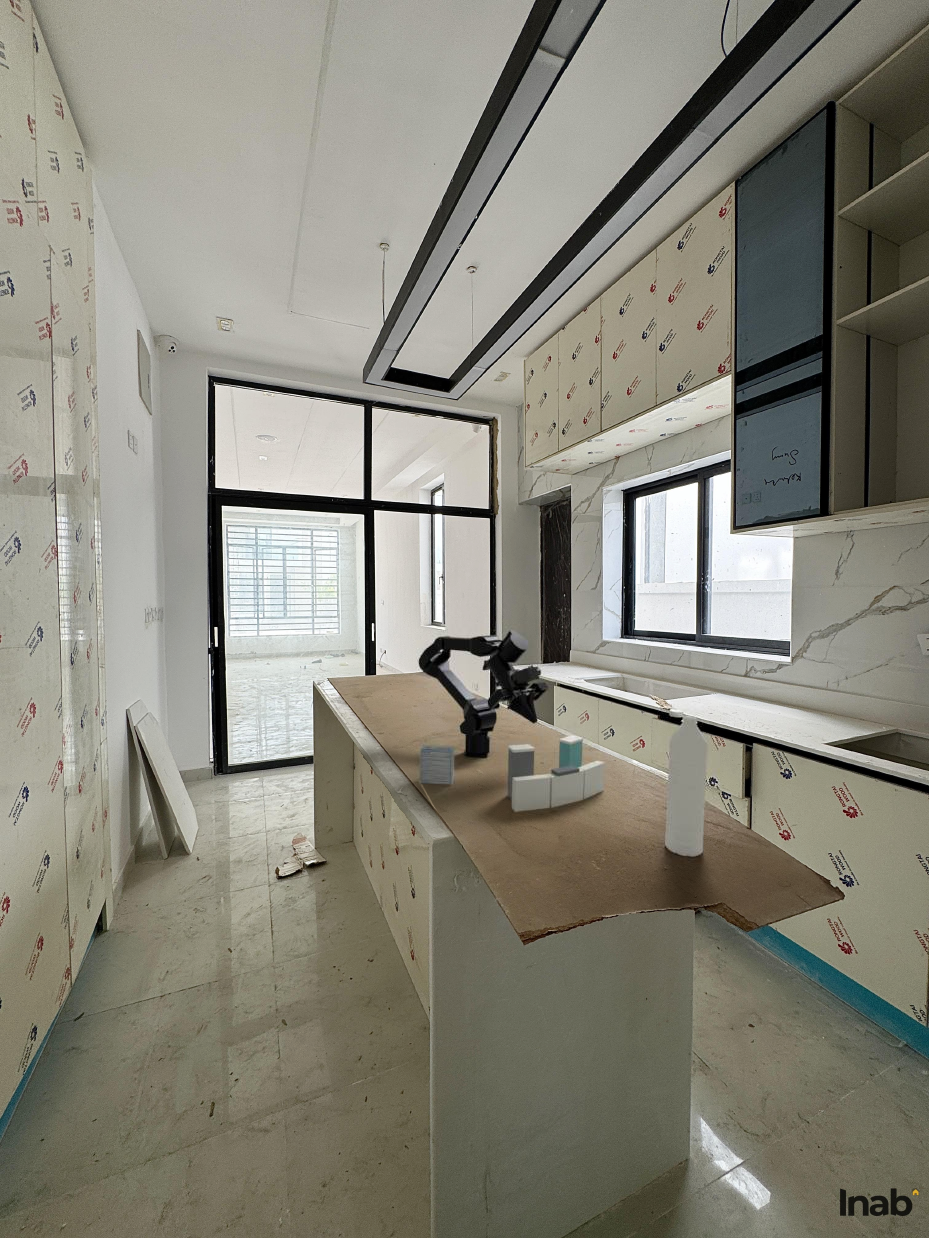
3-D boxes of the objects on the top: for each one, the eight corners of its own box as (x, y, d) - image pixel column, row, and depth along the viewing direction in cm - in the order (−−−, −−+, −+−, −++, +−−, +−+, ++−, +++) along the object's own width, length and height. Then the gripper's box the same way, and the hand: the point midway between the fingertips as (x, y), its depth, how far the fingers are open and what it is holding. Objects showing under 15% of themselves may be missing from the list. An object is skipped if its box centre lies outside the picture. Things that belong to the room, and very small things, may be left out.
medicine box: (454, 779, 130) (454, 745, 130) (451, 786, 126) (452, 751, 125) (422, 777, 131) (423, 743, 130) (419, 784, 127) (419, 749, 126)
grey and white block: (506, 795, 120) (508, 745, 119) (527, 793, 122) (529, 744, 121) (512, 800, 117) (513, 749, 116) (533, 798, 119) (534, 748, 118)
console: (521, 816, 110) (521, 780, 109) (509, 809, 113) (510, 774, 113) (610, 794, 122) (611, 761, 122) (597, 788, 126) (599, 756, 125)
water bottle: (710, 856, 95) (717, 720, 94) (677, 858, 94) (683, 721, 92) (682, 833, 104) (688, 708, 102) (651, 835, 103) (657, 709, 101)
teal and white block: (557, 786, 126) (559, 739, 125) (570, 781, 130) (572, 735, 129) (568, 790, 124) (570, 742, 123) (581, 785, 127) (583, 738, 126)
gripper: (496, 657, 130) (529, 709, 123) (544, 652, 143) (576, 699, 136) (474, 684, 137) (504, 735, 129) (521, 676, 149) (551, 722, 142)
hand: (535, 722), depth 134 cm, fingers closed
